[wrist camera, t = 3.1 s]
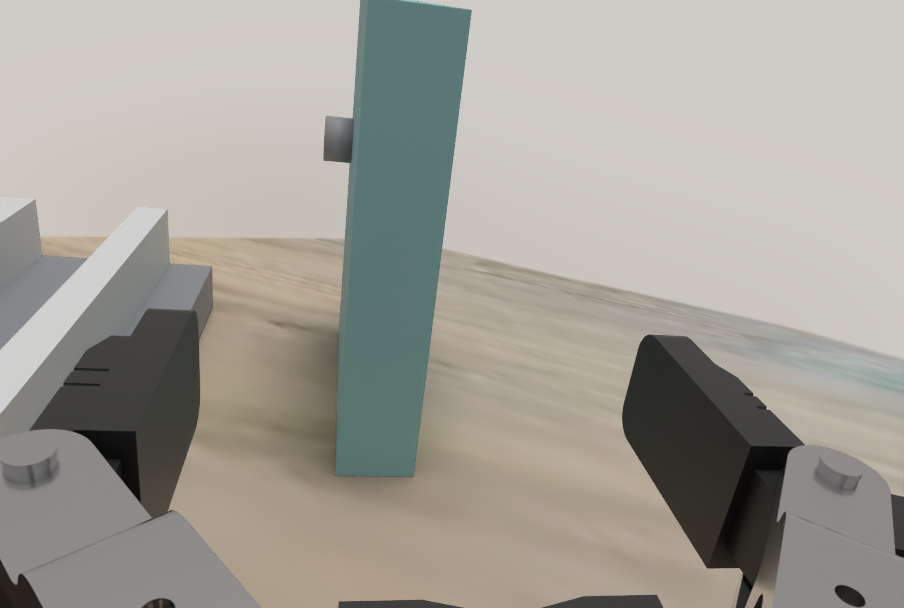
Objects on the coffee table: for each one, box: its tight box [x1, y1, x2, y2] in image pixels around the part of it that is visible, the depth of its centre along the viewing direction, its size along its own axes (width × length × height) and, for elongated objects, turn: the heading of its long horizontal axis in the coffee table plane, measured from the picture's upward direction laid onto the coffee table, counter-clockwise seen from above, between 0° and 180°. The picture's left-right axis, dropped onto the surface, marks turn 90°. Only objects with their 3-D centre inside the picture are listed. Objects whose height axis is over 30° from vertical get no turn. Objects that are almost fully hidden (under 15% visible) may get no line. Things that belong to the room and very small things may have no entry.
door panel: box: [324, 0, 471, 477], centre depth 24 cm, size 4×10×14 cm, turn 8°
